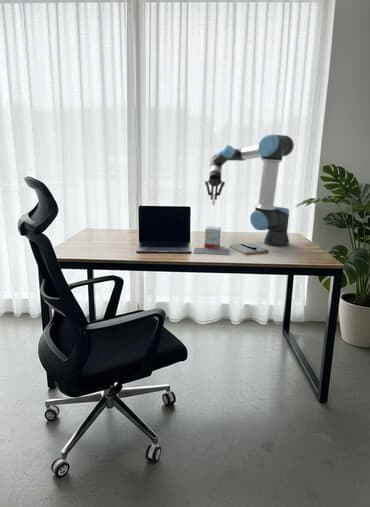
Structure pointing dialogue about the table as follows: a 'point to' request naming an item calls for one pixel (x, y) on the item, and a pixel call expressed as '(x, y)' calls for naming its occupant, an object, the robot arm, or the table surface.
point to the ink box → (212, 237)
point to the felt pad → (211, 251)
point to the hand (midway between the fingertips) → (213, 203)
